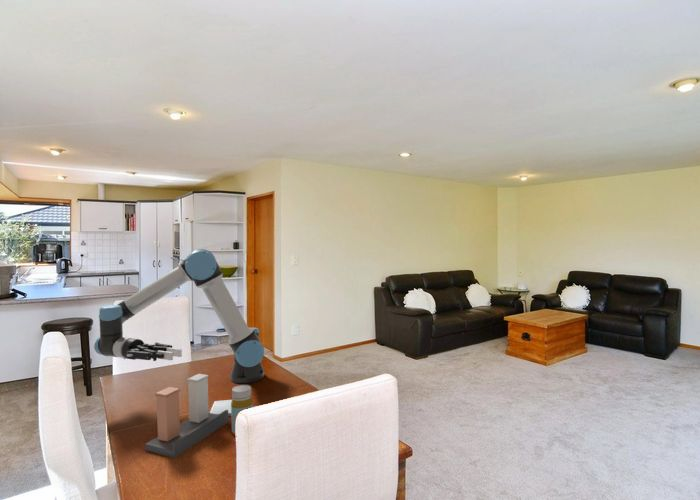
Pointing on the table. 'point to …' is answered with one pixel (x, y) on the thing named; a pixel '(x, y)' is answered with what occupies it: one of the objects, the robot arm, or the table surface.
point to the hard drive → (221, 407)
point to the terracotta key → (168, 413)
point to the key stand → (188, 435)
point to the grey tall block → (198, 398)
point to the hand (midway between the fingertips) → (176, 354)
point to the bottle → (240, 401)
